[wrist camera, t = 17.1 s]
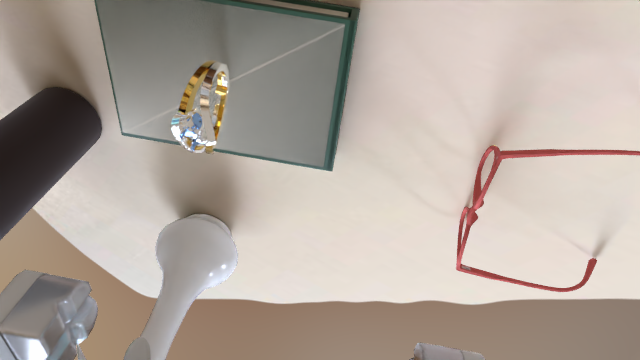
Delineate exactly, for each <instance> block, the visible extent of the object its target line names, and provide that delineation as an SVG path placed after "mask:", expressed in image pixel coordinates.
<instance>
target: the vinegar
mask: <svg viewBox="0 0 640 360" xmlns="http://www.w3.org/2000/svg"><path fill="white" fill-rule="evenodd" d="M101 130H102V127H101V121H100V118H99V116H98V115H97V113H96V111H95V110H94V108H93V107H92V106H91V105H90V104H89V103H88V102H87V101H86V100H85V99H83V98H82V97H81V96H80V95H78V94H76V93H74V92H72V91H70V90H68V89H63V88H58V87H55V88H46V89H44V90H42V91H41V92H39V93H37V94H36V95H35V96H33V97H32V98H30V99H29V100H28V101H26V102H25V103H24V104H22V105H21V106H19V107H18V108H17V109H15V110H14V111H12V112H11V113H10V114H8V115H7V116H5V117H4V118H3V119H1V120H0V240H1V239H2V238H3V237H4V236H5V235H6V234H7V233H8V232H9V231H10V229H12V228H13V227H14V226H15V225H16V224H17V223H18V222H19V220H21V218H22V217H23V216H24V215H25V214H26V213H27V212H28V211H29V210H30V209H31V208H32V207H33V206H34V205H35V204H36V203H37V202H38V201H39V200H40V199H41V198H42V197H43V196H44V195H45V194H46V193H47V192H48V191H49V190H50V189H51V188H52V187H53V186H54V185H55V184H56V183H57V182H58V181H59V180H60V179H61V178H62V176H63V175H64V174H65V173H66V172H67V171H68V170H69V169H70V168H71V167H72V166H73V165H74V164H75V163H76V162H77V161H78V160H79V159H80V158H81V157H82V156H83V155H84V154H85V153H86V152H87V151H88V150H89V149H90V148H91V147H92V146H93V145H94V144H95V143H96V141H97V140H98V139H99V138H100V135H101Z"/></svg>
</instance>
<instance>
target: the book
mask: <svg viewBox="0 0 640 360" xmlns="http://www.w3.org/2000/svg"><path fill="white" fill-rule="evenodd" d="M94 1H95V6H96V11H97V15H98V20H99V25H100V30H101V35H102V40H103V45H104V50H105V55H106V60H107V64H108V69H109V74H110V79H111V84H112V89H113V94H114V99H115V104H116V109H117V113H118V118H119V123H120V128H121V133H122V135H124V136H130V137H135V138H141V139H147V140H153V141H158V142H164V143H170V144H176V145H181V144H180V143H179V142H178V140H177V139H176V137H175V136H174V134H173V131H172V127H171V122H172V119H173V117H174V115H175V114H177V113H178V110H179V106H180V102H181V99H182V96H183V93H184V91H185V89H186V86H187V84H188V82H189V81H190V79H191V77H192V76H193V74H194V73H195V72H196V70H197V69H198V68H199V67H200V66H201V65H202V64H204V63H205V62H207V61H210V60H214V61H217V62H220V63H223V64H225V65H227V67H228V71H229V84H230V89H229V93H228V95H227V101H226V107H225V112H224V117H223V121H222V125H221V130H220V133H219V137H218V141H217V145H216V148H215V151H216V152H222V153H228V154H233V155H239V156H245V157H251V158H257V159H262V160H268V161H274V162H280V163H285V164H291V165H297V166H303V167H309V168H314V169H320V170H326V171H332V170H333V165H334V159H335V154H336V148H337V142H338V136H339V130H340V124H341V118H342V113H343V107H344V101H345V95H346V89H347V83H348V77H349V71H350V65H351V59H352V53H353V47H354V41H355V35H356V30H357V24H358V18H359V12H360V9H359V8H354V7H348V6H342V5H336V4H329V3H323V2H317V1H311V0H94ZM203 81H204V80H203ZM202 84H203V82H202V83H201V85H200V87H199V89H198V91H197V93H196V96H195V99H194V103H193V108H192V110H193V109H194V108H198V109H199V110H200V112H201V109H200V95H201V88H202ZM217 84H218V79H217V75H216V77H215V79H214V81H213V83H212V86H211V90H210V95H209V110H210V116H211V120H212V116H213V112H214V108H215V103H216V96H217V94H216V86H217ZM183 123H184V122H182V124H183ZM185 128H186V127H185ZM203 130H204V131H205V128H203ZM205 134H206V131H205ZM189 138H190V139H191V141H192V140H193V136H192V137H189ZM181 146H182V145H181Z"/></svg>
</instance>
